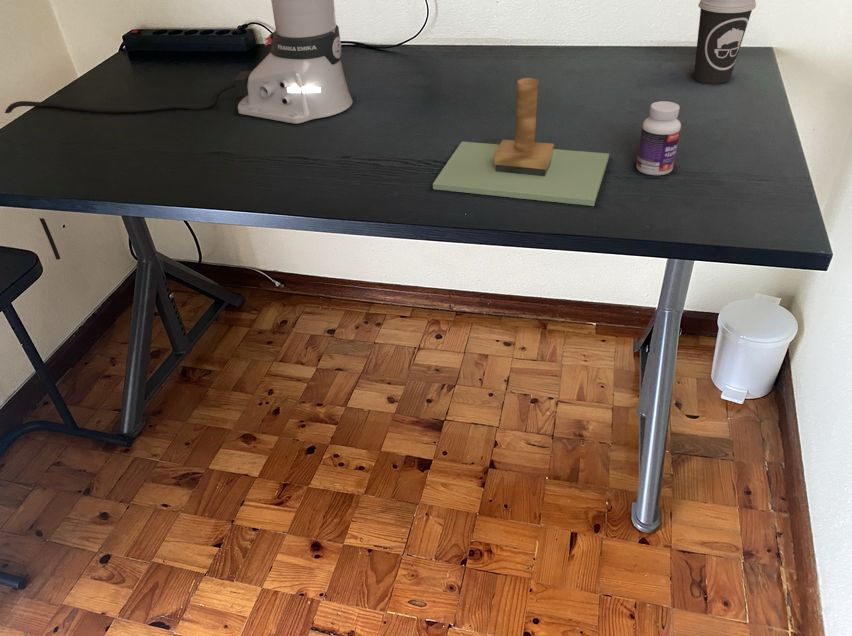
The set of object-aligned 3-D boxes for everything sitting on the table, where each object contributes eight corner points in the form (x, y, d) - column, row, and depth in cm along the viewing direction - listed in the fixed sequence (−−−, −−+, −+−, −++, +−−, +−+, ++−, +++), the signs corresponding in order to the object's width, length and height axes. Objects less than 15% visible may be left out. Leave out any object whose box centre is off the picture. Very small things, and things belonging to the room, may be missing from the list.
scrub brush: (493, 172, 112) (496, 85, 104) (502, 158, 116) (504, 73, 107) (545, 177, 109) (552, 89, 101) (552, 163, 113) (559, 77, 105)
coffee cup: (743, 73, 140) (763, -12, 131) (732, 89, 134) (752, 1, 125) (692, 67, 144) (708, -16, 135) (678, 83, 138) (694, -3, 129)
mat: (432, 189, 111) (432, 183, 110) (461, 146, 122) (461, 141, 122) (594, 206, 104) (594, 200, 103) (608, 159, 115) (609, 153, 114)
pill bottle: (667, 179, 108) (678, 115, 102) (631, 172, 111) (640, 109, 105) (677, 164, 112) (689, 102, 106) (641, 158, 114) (651, 97, 108)
